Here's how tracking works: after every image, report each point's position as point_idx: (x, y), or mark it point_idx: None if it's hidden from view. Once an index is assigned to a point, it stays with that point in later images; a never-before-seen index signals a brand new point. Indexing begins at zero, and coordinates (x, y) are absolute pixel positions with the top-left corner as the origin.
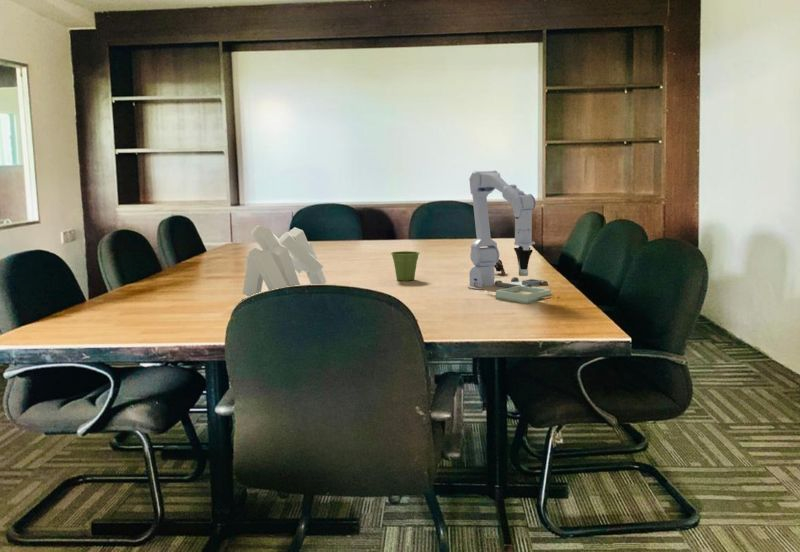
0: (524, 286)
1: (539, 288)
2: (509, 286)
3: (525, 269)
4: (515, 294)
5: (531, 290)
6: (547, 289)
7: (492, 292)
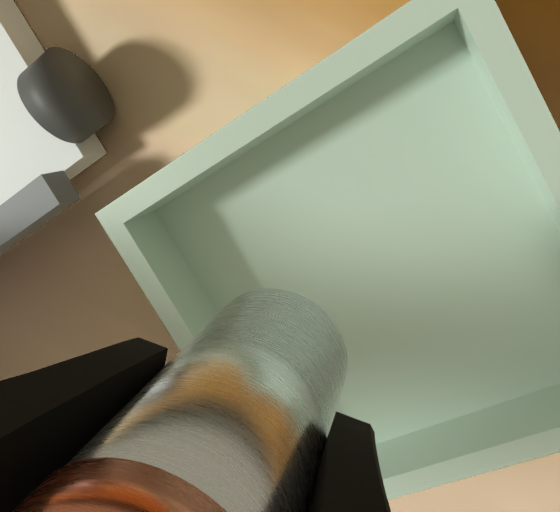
0: (152, 189)
1: (322, 78)
2: (5, 248)
3: (330, 423)
4: (514, 455)
5: (252, 145)
6: (431, 1)
7: (45, 363)
